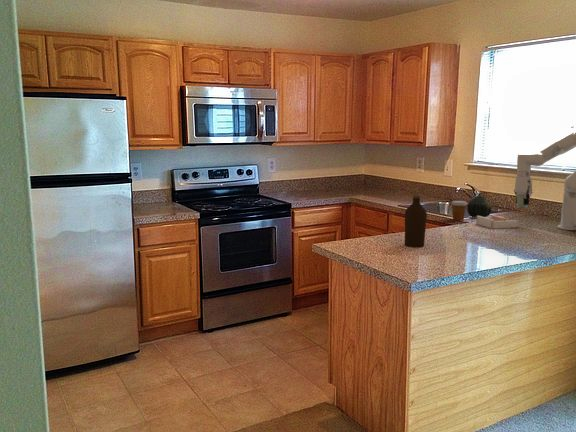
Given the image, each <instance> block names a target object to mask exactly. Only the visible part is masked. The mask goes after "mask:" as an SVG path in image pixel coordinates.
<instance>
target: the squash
mask: <svg viewBox="0 0 576 432" xmlns="http://www.w3.org/2000/svg"><path fill="white" fill-rule="evenodd" d="M492 208H493V207H492V204H491V203H490V201H489V200H488V199H486V198H485V196H482V195H480V194H479V195H477V196H474V197H473V198H472V199H471V200H470V201H469V202H468V203H467V205H466V209H467V213H468V215H469V216H470V217H472V218H475V217H476V218H477V216H482V217H490V216H491V212H492Z"/></svg>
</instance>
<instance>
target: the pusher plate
mask: <svg viewBox="0 0 576 432" xmlns="http://www.w3.org/2000/svg"><path fill="white" fill-rule="evenodd" d="M490 217H491V219H493V220H494V221H508V219H507V217H503V216H502V217H499V215H493V214H492V215H491V214H490Z"/></svg>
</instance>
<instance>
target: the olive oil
mask: <svg viewBox="0 0 576 432" xmlns="http://www.w3.org/2000/svg"><path fill="white" fill-rule="evenodd" d="M412 196H413V197H412V203H411V204H410V205H409V206H408V207H407V208H406V209H405V211H404V245H405V246H406V247H411V248H422V247H424V246H425V237H426V227H427V216H428V214H427V210H426V208H425V207H424V206H423V205H422V204H421V195H420V194H413V195H412Z"/></svg>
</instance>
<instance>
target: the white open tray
mask: <svg viewBox="0 0 576 432" xmlns="http://www.w3.org/2000/svg"><path fill="white" fill-rule="evenodd" d="M498 216H499V215H498ZM499 217H502V218H503V216H501V215H500V216H499ZM475 222H476V223H475V224H476V225H479V226H483V227H485V226H486V228H489V229H507V228H509V229H511V228H518V223H519V222H518V220H517V219H516V220H515V219H514V220H507V221H494V220H493V219H491V216H487V217H482V216H476V221H475Z"/></svg>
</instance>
